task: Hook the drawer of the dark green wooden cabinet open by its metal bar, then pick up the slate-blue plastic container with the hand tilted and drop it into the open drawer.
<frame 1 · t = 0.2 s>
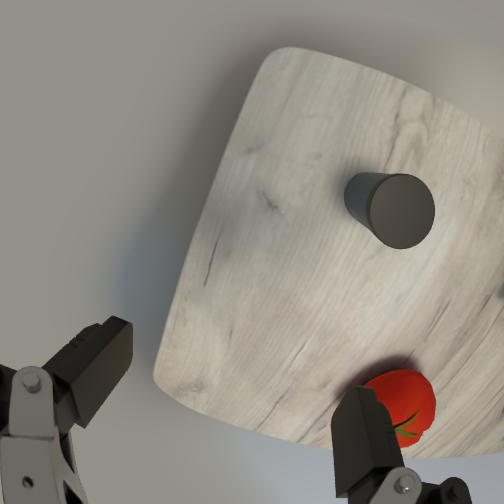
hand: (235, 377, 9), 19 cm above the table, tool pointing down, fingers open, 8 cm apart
plastic container: (368, 197, 25), on the table
tomato: (382, 389, 31), on the table
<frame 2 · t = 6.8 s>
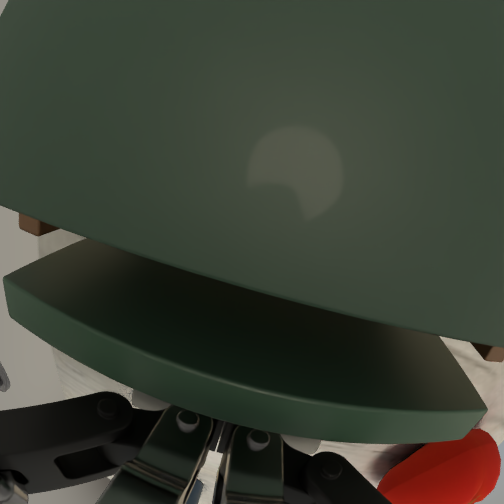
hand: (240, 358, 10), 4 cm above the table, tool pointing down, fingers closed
plastic container: (181, 479, 22), on the table
drawer: (299, 181, 7), point 5 cm above the table, slide at 2.2 cm, touching gripper
tomato: (425, 453, 17), on the table
cabinet: (326, 54, 10), on the table
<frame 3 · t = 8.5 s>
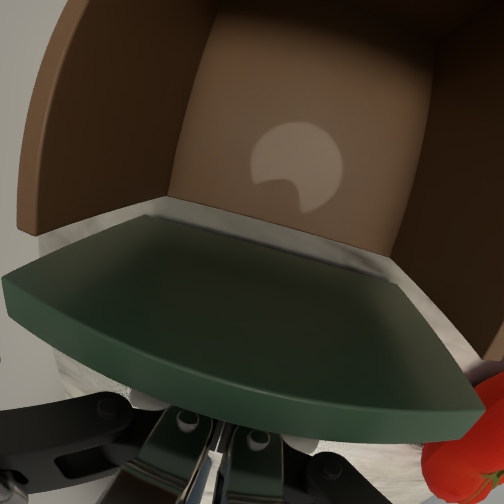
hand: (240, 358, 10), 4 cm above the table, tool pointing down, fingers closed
plastic container: (185, 456, 20), on the table
drawer: (295, 180, 7), point 5 cm above the table, slide at 8.7 cm, touching gripper
tomato: (467, 408, 15), on the table
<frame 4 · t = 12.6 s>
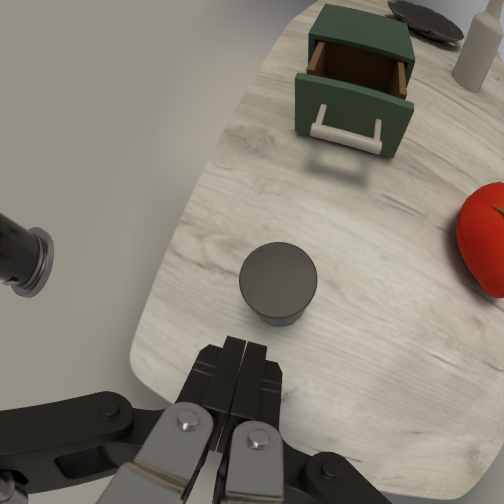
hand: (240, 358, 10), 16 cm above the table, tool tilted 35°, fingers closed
plastic container: (280, 301, 26), on the table
rough clay dish: (423, 30, 43), on the table
drawer: (354, 96, 28), point 5 cm above the table, slide at 8.8 cm
bottle: (465, 82, 35), on the table
tomato: (480, 252, 25), on the table
cabinet: (357, 75, 36), on the table
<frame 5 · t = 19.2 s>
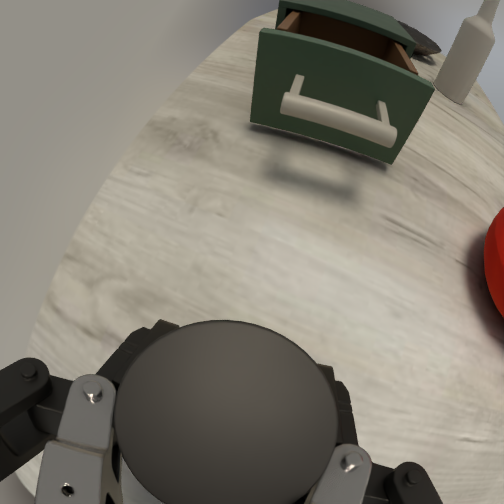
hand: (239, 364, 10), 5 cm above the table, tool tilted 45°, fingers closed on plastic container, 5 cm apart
plastic container: (226, 402, 13), on the table, touching gripper
rough clay dish: (396, 43, 46), on the table
drawer: (338, 77, 19), point 5 cm above the table, slide at 8.8 cm
bottle: (447, 93, 35), on the table
tomato: (501, 289, 18), on the table
cabinet: (330, 71, 30), on the table
when the fingers open (11 cm above the table, at t = 29.1 s): plastic container drops 4 cm, resting on drawer.
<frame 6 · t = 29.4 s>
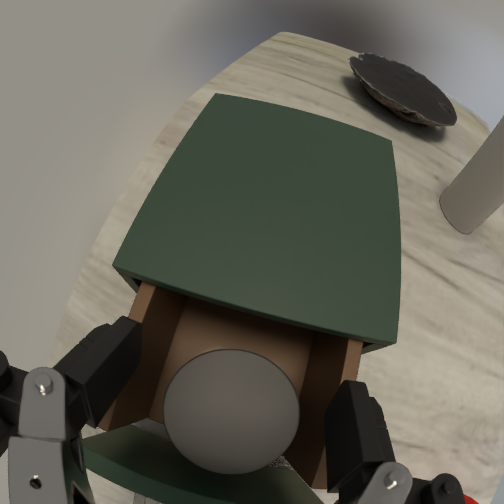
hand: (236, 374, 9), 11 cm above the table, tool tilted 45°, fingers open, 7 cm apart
plastic container: (230, 399, 17), point 2 cm above the table, touching drawer
rough clay dish: (397, 103, 40), on the table
drawer: (220, 422, 13), point 5 cm above the table, slide at 8.8 cm, touching plastic container
bottle: (456, 212, 29), on the table
cabinet: (265, 260, 24), on the table
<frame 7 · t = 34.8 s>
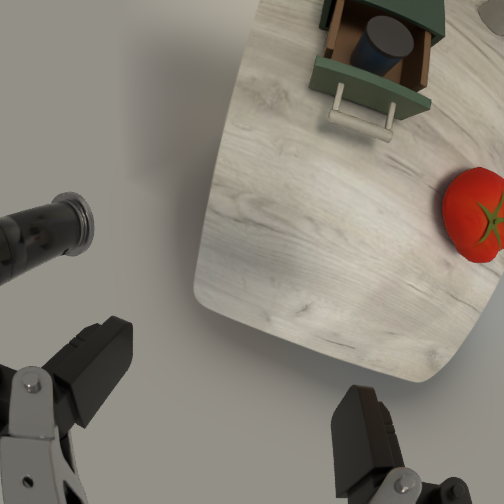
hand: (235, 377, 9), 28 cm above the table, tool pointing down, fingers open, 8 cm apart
plastic container: (368, 63, 26), point 2 cm above the table, touching drawer
drawer: (371, 63, 24), point 5 cm above the table, slide at 8.8 cm, touching plastic container
bottle: (491, 20, 19), on the table
tomato: (462, 209, 32), on the table
cabinet: (373, 8, 25), on the table
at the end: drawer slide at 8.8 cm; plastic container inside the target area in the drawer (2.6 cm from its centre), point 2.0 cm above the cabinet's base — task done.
